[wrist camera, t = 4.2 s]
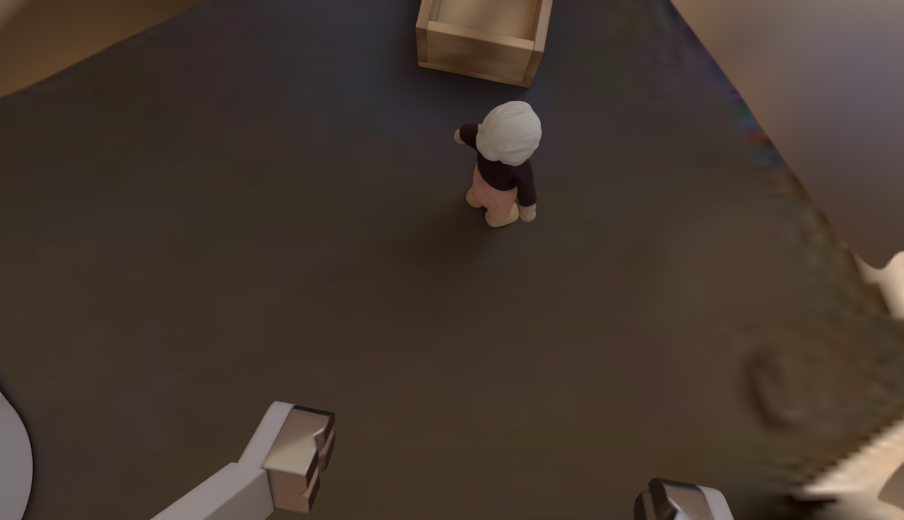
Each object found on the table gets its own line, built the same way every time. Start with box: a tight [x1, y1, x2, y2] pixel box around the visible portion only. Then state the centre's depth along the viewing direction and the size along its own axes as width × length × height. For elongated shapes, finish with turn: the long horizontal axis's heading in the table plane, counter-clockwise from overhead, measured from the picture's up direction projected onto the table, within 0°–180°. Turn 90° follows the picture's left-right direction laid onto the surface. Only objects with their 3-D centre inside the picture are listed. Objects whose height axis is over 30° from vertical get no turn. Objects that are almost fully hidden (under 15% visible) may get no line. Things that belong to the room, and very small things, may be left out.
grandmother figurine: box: [454, 101, 542, 227], centre depth 27 cm, size 8×4×13 cm, turn 51°
